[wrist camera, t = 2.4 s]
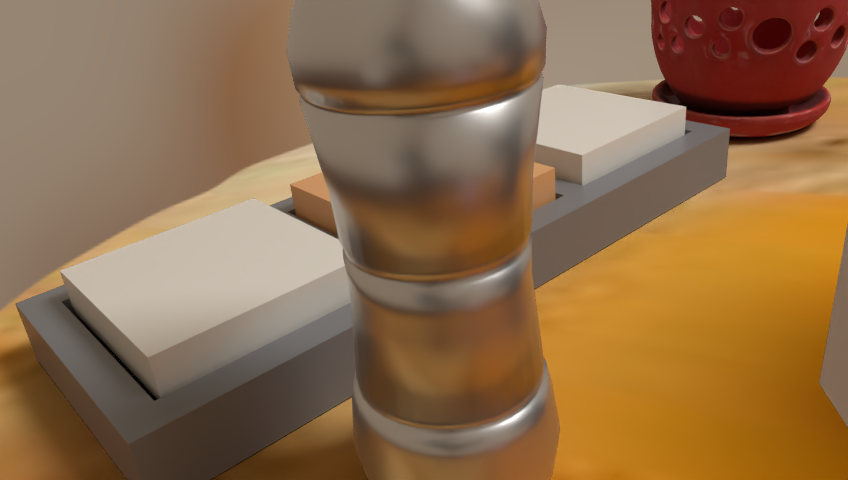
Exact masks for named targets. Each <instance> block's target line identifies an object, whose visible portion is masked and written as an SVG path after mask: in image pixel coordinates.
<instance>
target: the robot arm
mask: <svg viewBox="0 0 848 480" xmlns="http://www.w3.org/2000/svg"><path fill="white" fill-rule="evenodd" d="M819 384H820V385H821V387H822V388H823V390H824V391H825V393H826V395H827V396H828V398H829V399H830V401H831V402H832V404H833V405H834V407H835V408H836V410H837V412H838V413H839V415H840V416H841V418H842V419H843V421H844V422H845V424H846V426H847V427H848V225H847V231H846V236H845V242H844V248H843V253H842V259H841V264H840V270H839V276H838V281H837V287H836V292H835V298H834V304H833V309H832V315H831V320H830V326H829V332H828V337H827V343H826V348H825V354H824V360H823V365H822V371H821V376H820V382H819Z"/></svg>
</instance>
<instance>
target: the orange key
mask: <svg viewBox="0 0 848 480" xmlns="http://www.w3.org/2000/svg"><path fill="white" fill-rule="evenodd" d="M290 186H291V191H292V197H293V202H294V207H295V213H296V216H297V217H299V218H301V219H303V220H305V221H307V222H309V223H311V224H313V225H315V226H317V227H319V228H322V229H324V230H326V231H328V232H330V233H332V234H334V235H336V236H338V232H337V228H336V223H335V219H334V214H333V210H332V205H331V200H330V196H329V192H328V188H327V185H326V182H325V179H324V176H323V173H320V174H317V175H314V176H312V177H309V178H306V179H304V180H301V181H298V182H296V183H293V184H290ZM554 200H556V198H555V168H554V167H550V166H546V165H543V164H539V163H536V162H534V170H533V211H534V210H536V209H538V208H540V207H542V206H544V205H546V204H548V203H550V202H552V201H554Z"/></svg>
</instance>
